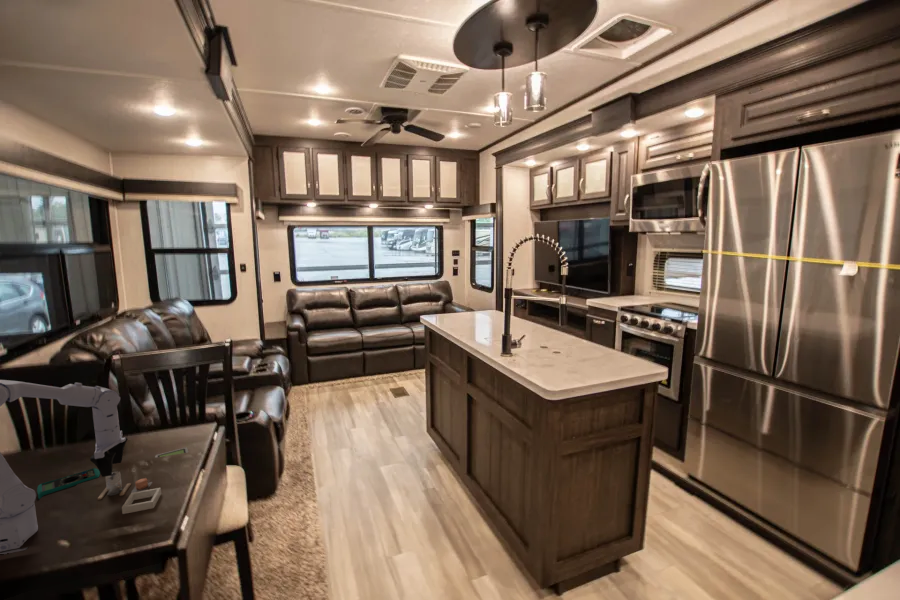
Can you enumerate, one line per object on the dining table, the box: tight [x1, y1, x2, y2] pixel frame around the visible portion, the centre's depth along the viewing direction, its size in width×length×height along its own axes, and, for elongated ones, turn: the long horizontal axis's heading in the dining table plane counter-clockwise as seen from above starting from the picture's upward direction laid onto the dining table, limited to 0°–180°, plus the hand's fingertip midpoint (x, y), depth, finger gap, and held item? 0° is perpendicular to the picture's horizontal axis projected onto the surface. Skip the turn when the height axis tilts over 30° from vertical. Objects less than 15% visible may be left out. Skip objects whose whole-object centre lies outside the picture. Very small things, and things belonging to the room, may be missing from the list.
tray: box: [121, 487, 162, 515], centre depth 119 cm, size 7×7×4 cm
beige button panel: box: [97, 481, 153, 501], centre depth 126 cm, size 11×14×2 cm
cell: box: [105, 471, 123, 496], centre depth 125 cm, size 4×4×6 cm
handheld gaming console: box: [154, 447, 189, 459], centre depth 146 cm, size 10×2×15 cm
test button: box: [135, 477, 149, 490], centre depth 127 cm, size 3×3×2 cm
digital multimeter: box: [36, 467, 101, 500], centre depth 131 cm, size 7×15×3 cm, turn 136°
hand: (112, 469), depth 124 cm, fingers open, 7 cm apart
